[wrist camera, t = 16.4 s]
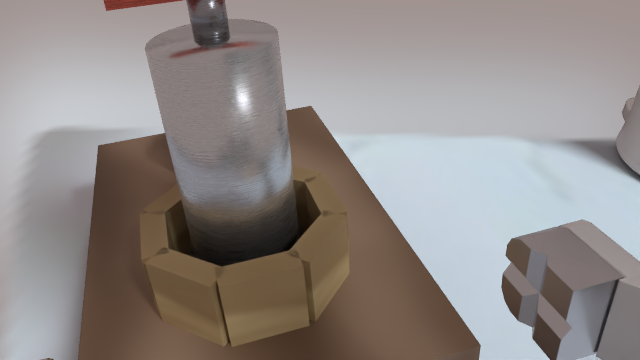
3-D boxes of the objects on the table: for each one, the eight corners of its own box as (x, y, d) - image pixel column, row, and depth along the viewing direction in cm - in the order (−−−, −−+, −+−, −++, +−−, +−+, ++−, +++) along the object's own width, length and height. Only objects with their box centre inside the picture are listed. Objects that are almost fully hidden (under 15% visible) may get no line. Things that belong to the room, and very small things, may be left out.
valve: (303, 219, 26) (275, -63, 20) (334, 285, 22) (313, -39, 16) (176, 248, 25) (100, -42, 18) (186, 323, 21) (93, -11, 14)
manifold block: (317, 179, 41) (307, 64, 36) (467, 443, 23) (489, 282, 18) (122, 221, 38) (84, 101, 33) (119, 562, 20) (33, 409, 15)
